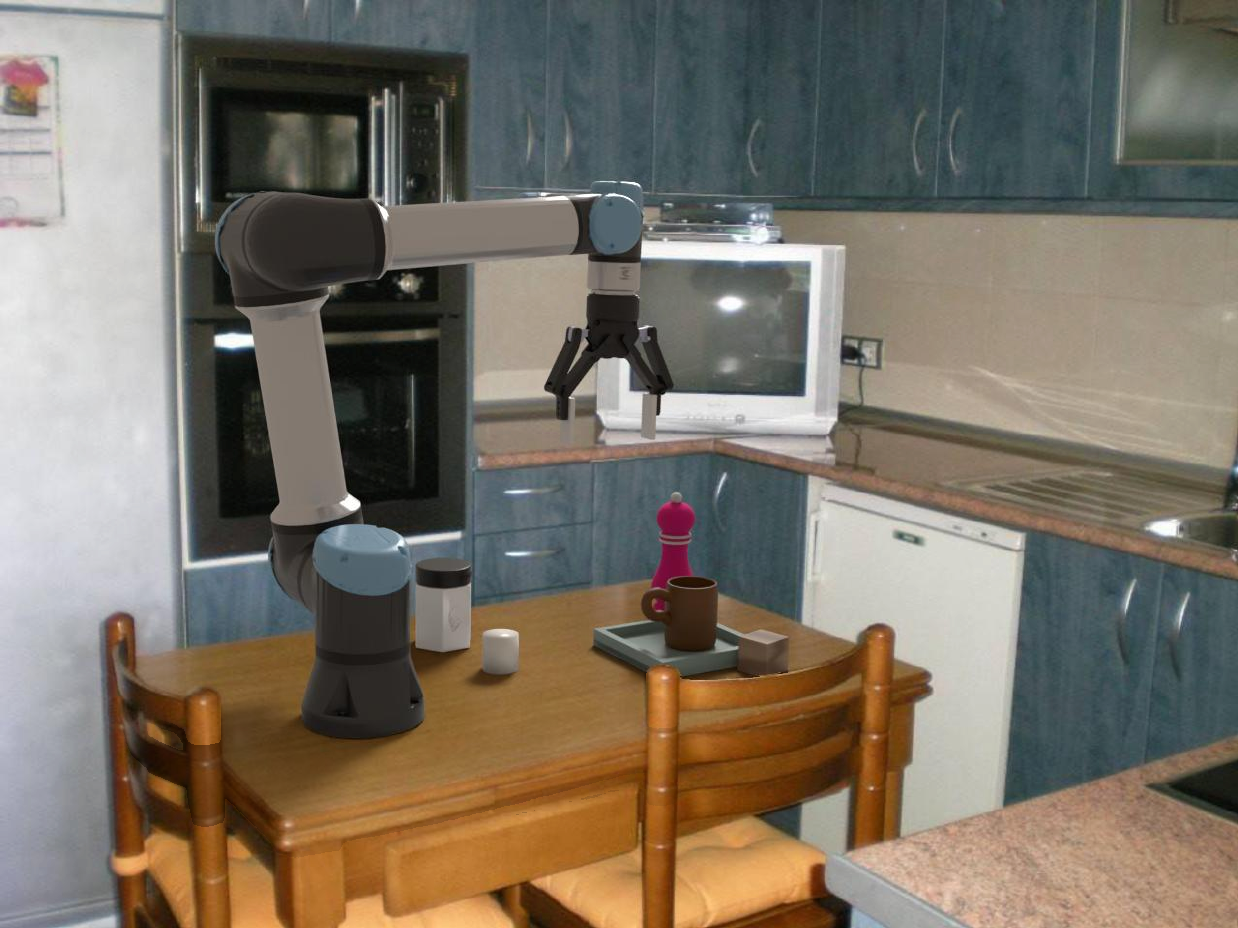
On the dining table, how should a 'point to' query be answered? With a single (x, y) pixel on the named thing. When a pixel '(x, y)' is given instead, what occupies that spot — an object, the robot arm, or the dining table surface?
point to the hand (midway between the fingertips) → (608, 440)
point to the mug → (686, 612)
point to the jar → (443, 604)
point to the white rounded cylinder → (500, 651)
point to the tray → (666, 648)
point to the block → (763, 653)
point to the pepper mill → (673, 543)
